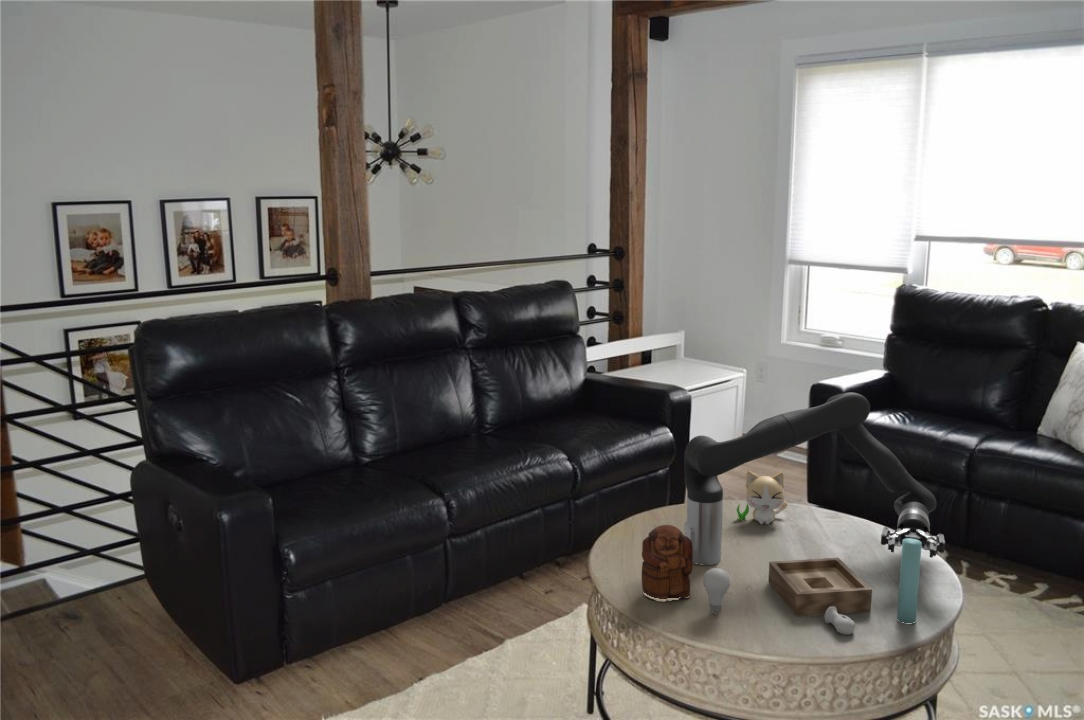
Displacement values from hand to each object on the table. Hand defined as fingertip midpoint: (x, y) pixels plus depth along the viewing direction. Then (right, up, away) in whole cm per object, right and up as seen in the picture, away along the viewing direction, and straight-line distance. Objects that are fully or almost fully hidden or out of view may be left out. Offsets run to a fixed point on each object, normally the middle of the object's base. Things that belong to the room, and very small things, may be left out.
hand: (911, 551), depth 210 cm
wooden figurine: (-57, -12, +5) cm, 59 cm away
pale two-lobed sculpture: (-21, -15, -11) cm, 28 cm away
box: (-21, -12, +4) cm, 25 cm away
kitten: (-22, -3, +53) cm, 57 cm away
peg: (-5, -14, -8) cm, 17 cm away
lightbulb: (-47, -14, -3) cm, 49 cm away
